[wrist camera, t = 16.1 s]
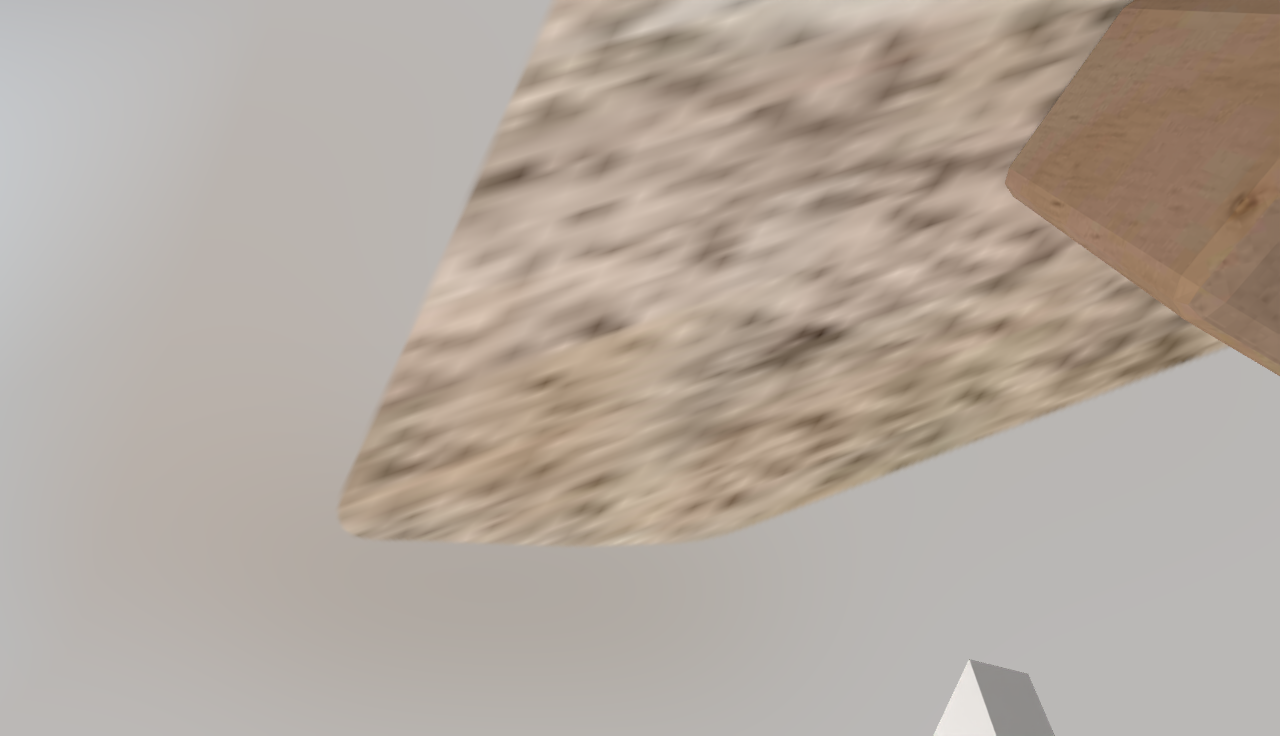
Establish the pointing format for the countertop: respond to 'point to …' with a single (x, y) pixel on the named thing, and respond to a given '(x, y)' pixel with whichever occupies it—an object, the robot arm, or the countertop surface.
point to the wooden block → (1175, 163)
